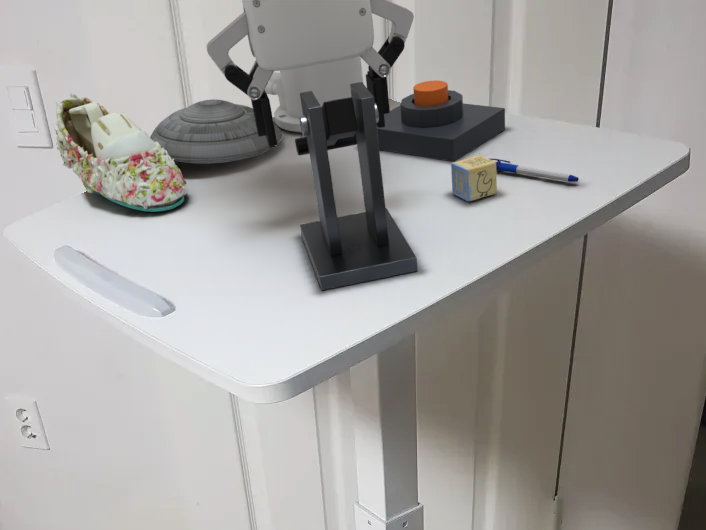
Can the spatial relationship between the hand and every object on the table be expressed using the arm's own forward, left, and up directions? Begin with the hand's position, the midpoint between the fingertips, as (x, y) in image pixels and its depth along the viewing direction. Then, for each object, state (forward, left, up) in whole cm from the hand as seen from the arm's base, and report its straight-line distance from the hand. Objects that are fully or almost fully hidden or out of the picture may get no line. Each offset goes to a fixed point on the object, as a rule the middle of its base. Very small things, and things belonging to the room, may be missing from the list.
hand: (325, 133), depth 75 cm
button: (-3, +20, -4) cm, 20 cm away
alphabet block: (+10, +9, -7) cm, 15 cm away
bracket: (+7, -6, -7) cm, 12 cm away
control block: (-3, +20, -7) cm, 21 cm away
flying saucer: (-24, +7, -7) cm, 26 cm away
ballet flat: (-28, -4, -8) cm, 29 cm away
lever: (+4, -3, 0) cm, 5 cm away
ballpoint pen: (+12, +14, -7) cm, 20 cm away
